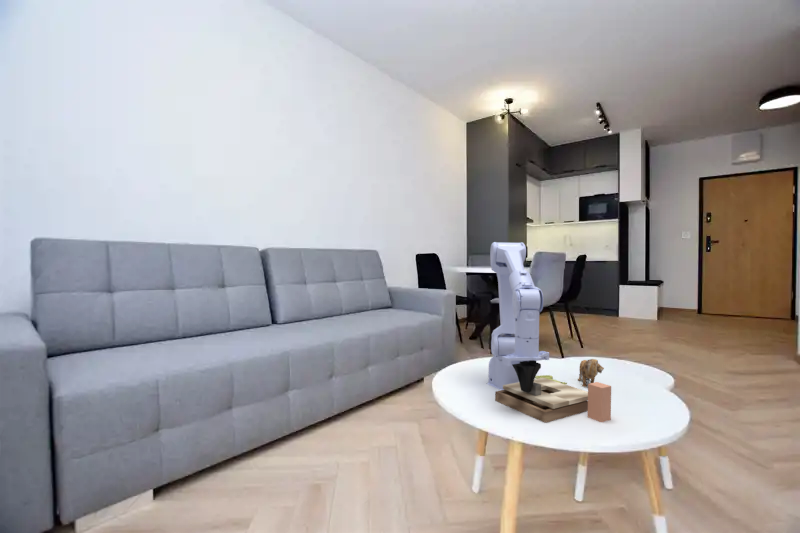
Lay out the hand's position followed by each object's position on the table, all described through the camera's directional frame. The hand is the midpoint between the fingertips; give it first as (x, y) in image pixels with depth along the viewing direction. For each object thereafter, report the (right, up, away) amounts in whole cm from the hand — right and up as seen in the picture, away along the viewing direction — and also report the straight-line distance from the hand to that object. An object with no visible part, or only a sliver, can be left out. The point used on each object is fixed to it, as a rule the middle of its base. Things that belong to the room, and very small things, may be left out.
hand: (525, 391), depth 94 cm
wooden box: (+5, -5, +3) cm, 7 cm away
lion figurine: (+28, -6, +24) cm, 37 cm away
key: (+16, -6, +26) cm, 31 cm away
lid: (+7, -2, +4) cm, 8 cm away
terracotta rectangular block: (+16, -5, -5) cm, 17 cm away
